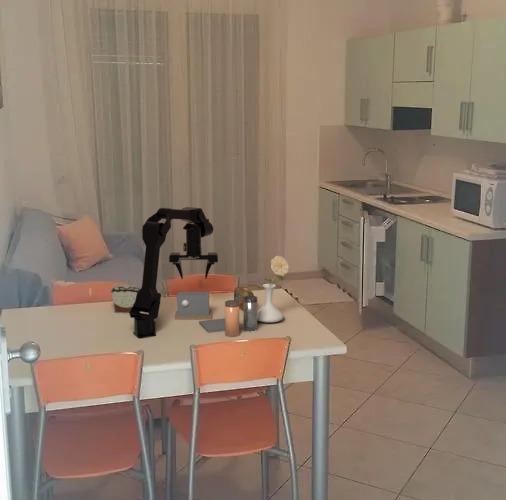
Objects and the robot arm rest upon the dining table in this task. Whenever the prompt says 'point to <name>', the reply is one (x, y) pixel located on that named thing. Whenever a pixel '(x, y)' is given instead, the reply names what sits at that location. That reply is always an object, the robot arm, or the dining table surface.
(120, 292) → the food container
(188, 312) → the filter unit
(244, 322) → the cylinder
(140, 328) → the robot arm
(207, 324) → the mat
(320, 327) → the dining table surface
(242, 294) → the tin
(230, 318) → the cylinder
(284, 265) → the flower in vase
